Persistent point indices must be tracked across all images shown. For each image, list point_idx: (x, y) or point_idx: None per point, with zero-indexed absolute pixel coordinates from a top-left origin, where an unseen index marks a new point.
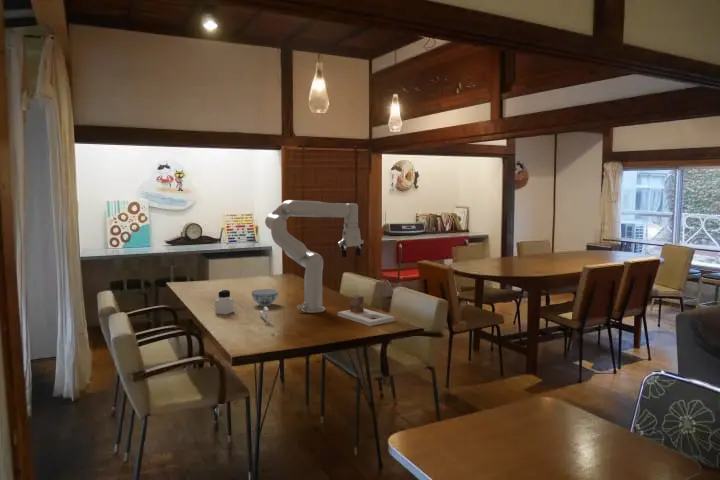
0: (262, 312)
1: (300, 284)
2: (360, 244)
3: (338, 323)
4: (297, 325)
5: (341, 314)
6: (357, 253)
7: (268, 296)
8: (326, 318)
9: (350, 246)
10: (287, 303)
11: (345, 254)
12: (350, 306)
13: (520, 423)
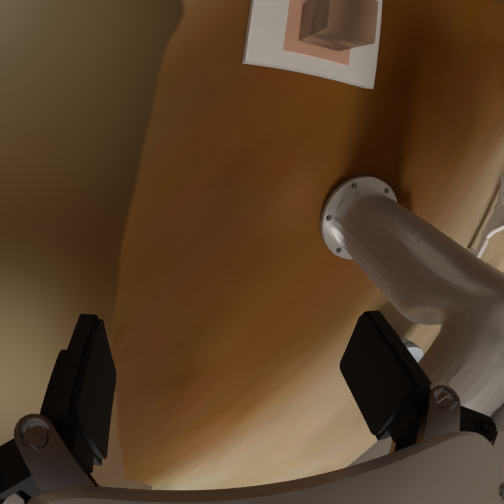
0: (496, 232)
1: (148, 455)
2: (34, 500)
3: (423, 31)
4: (485, 119)
5: (373, 66)
6: (104, 372)
7: (410, 342)
8: (410, 99)
9: (405, 448)
10: (331, 339)
11: (396, 335)
12: (349, 47)
13: None
